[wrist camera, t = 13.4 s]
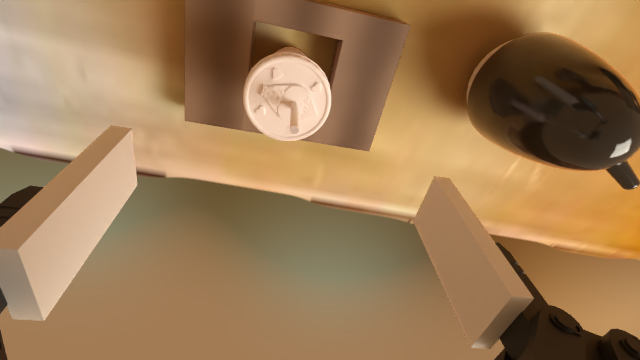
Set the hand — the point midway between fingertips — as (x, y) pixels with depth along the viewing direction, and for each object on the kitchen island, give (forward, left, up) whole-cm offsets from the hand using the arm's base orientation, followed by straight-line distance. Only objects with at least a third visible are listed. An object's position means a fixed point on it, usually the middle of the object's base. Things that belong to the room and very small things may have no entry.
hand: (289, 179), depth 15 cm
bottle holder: (0, 0, -20) cm, 20 cm away
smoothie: (0, 0, -21) cm, 21 cm away
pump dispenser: (+13, +17, -21) cm, 30 cm away
